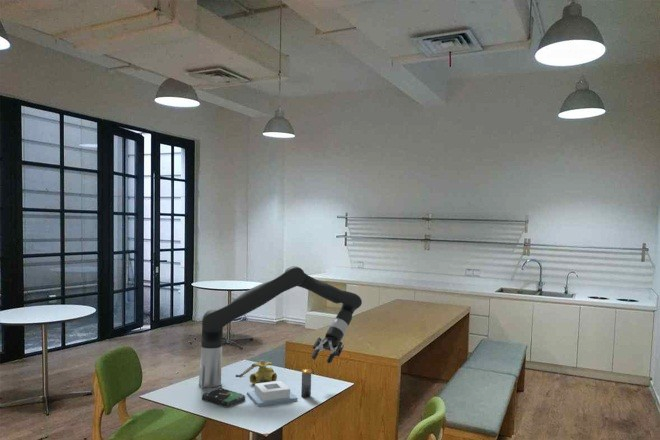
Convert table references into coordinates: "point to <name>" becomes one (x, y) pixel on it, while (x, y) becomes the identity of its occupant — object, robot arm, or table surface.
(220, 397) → the disk drive
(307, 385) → the gold topped tube
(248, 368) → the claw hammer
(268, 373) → the ball valve
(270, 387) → the socket mount
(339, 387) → the table surface
